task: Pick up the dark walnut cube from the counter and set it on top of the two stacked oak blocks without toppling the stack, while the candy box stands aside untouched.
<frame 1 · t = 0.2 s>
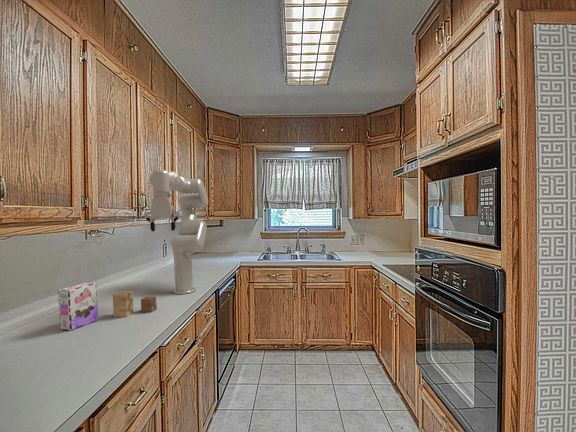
hand: (163, 230, 181), 36 cm above the worktop, tool pointing down, fingers open, 9 cm apart
walnut cube: (149, 310, 171), on the worktop
tower base: (123, 315, 166), on the worktop, touching tower top
tower top: (123, 304, 166), point 5 cm above the worktop, touching tower base
candy box: (80, 325, 154), on the worktop
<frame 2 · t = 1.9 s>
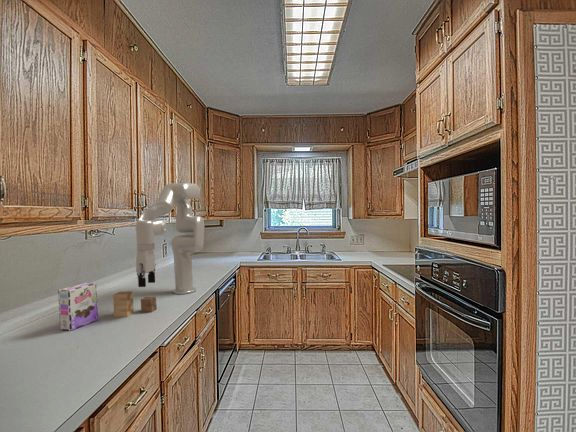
hand: (147, 284, 170), 12 cm above the worktop, tool pointing down, fingers open, 9 cm apart
nothing on the worktop moved.
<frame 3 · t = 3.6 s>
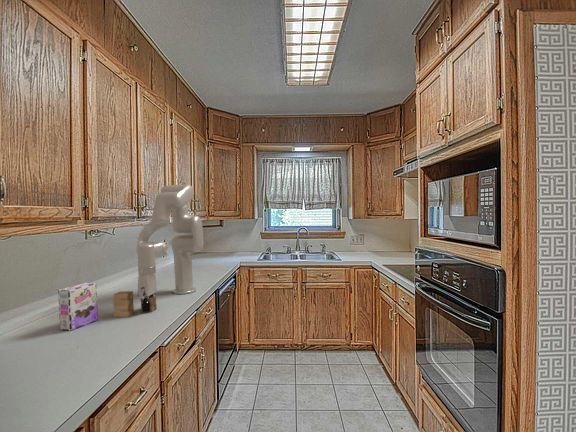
hand: (149, 309, 171), 1 cm above the worktop, tool pointing down, fingers closed on walnut cube, 5 cm apart
walnut cube: (149, 310, 171), on the worktop, touching gripper
everything else where it was.
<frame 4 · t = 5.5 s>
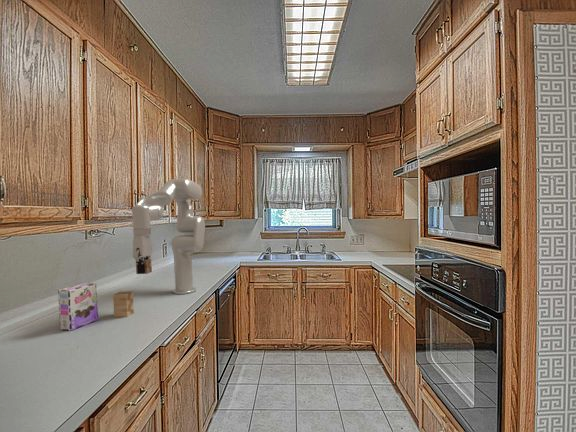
hand: (144, 271, 170), 18 cm above the worktop, tool pointing down, fingers closed on walnut cube, 5 cm apart
walnut cube: (144, 272, 170), point 18 cm above the worktop, touching gripper
everything else where it was.
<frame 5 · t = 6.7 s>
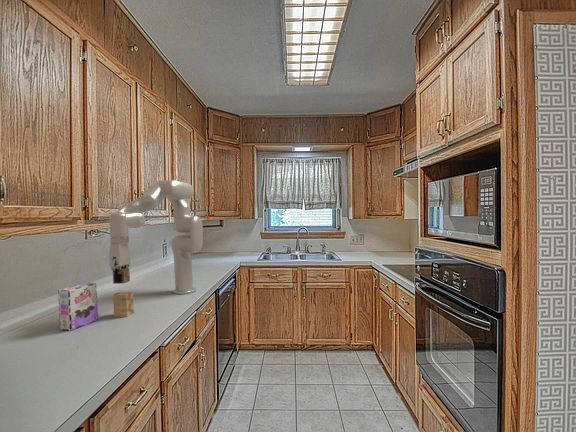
hand: (121, 280, 165), 15 cm above the worktop, tool pointing down, fingers closed on walnut cube, 5 cm apart
walnut cube: (121, 282, 165), point 15 cm above the worktop, touching gripper
everything else where it was.
when the fingers open (12 cm above the worktop, at t = 7.7 s): walnut cube stays where it is, resting on tower top.
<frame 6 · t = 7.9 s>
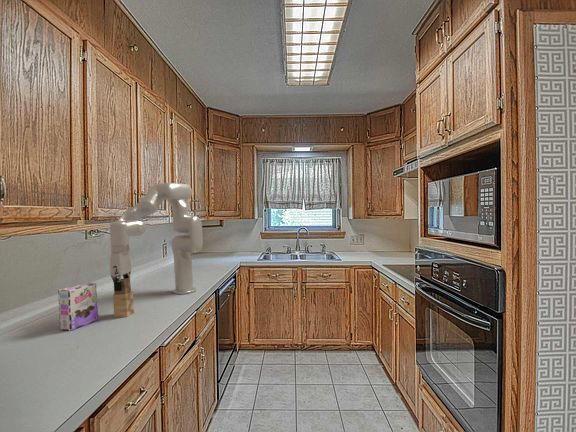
hand: (122, 288, 165), 12 cm above the worktop, tool pointing down, fingers open, 6 cm apart
walnut cube: (122, 292, 165), point 10 cm above the worktop, touching tower top
tower top: (123, 303, 166), point 5 cm above the worktop, touching tower base, walnut cube
everything else where it was.
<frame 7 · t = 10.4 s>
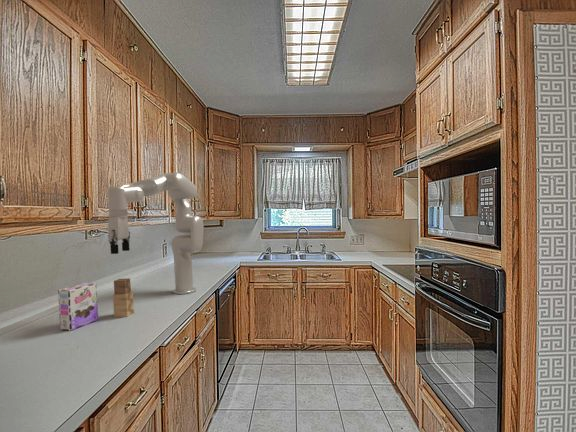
hand: (120, 252, 165), 28 cm above the worktop, tool pointing down, fingers open, 9 cm apart
nothing on the worktop moved.
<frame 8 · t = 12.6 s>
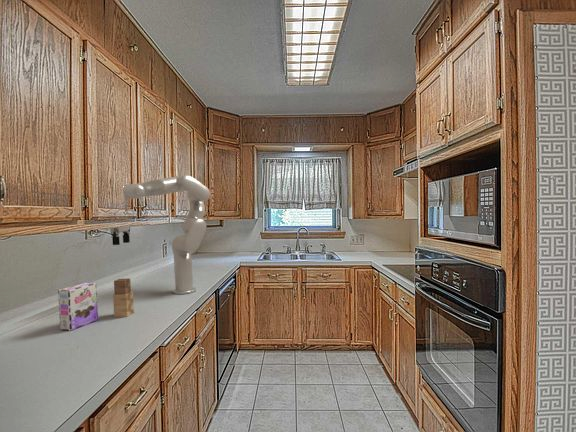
hand: (121, 243, 183), 30 cm above the worktop, tool pointing down, fingers open, 9 cm apart
nothing on the worktop moved.
at the end: walnut cube 0.1 cm from the tower top (horizontally); walnut cube point 9.9 cm above the worktop; walnut cube tilted 0° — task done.
